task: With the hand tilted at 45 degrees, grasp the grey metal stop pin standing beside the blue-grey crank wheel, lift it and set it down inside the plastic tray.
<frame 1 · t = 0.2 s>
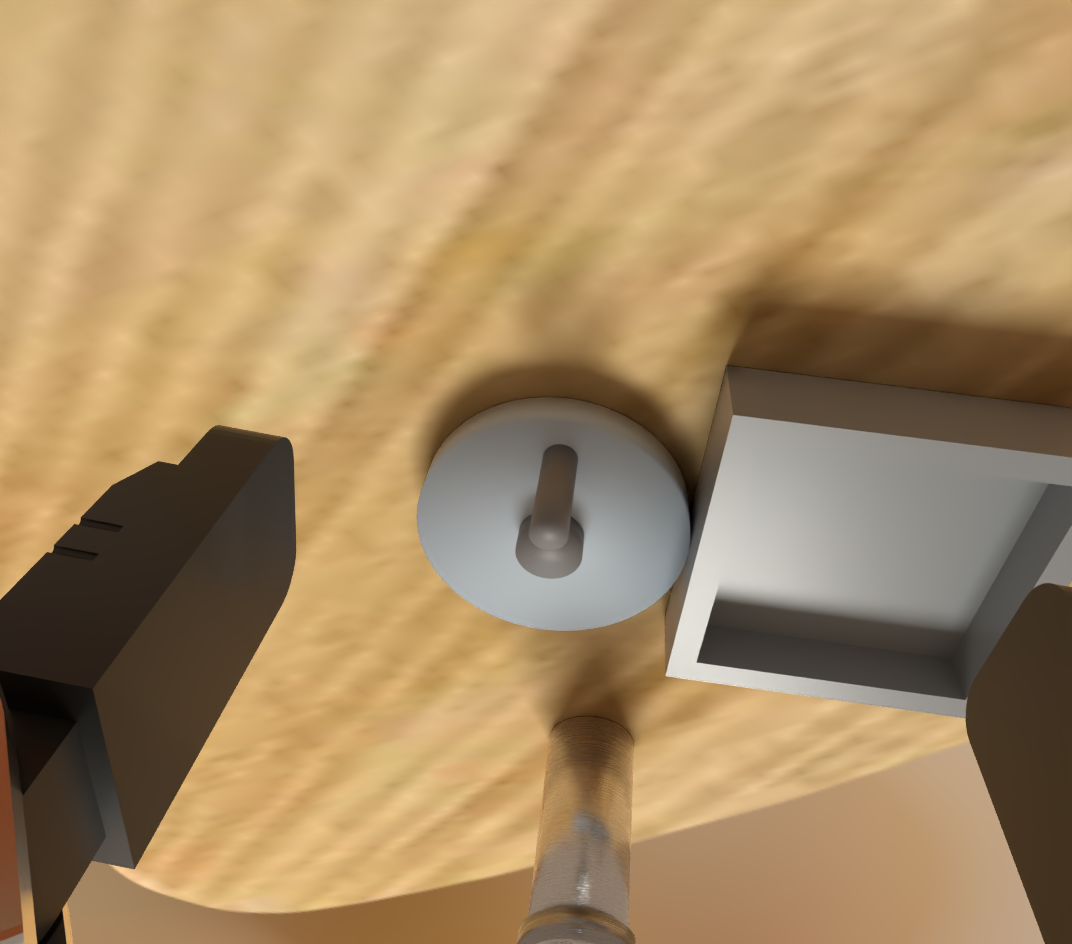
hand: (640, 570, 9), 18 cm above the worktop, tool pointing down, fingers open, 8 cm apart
stop pin: (591, 742, 40), on the worktop
tray: (855, 528, 31), on the worktop
crank wheel: (555, 509, 32), on the worktop
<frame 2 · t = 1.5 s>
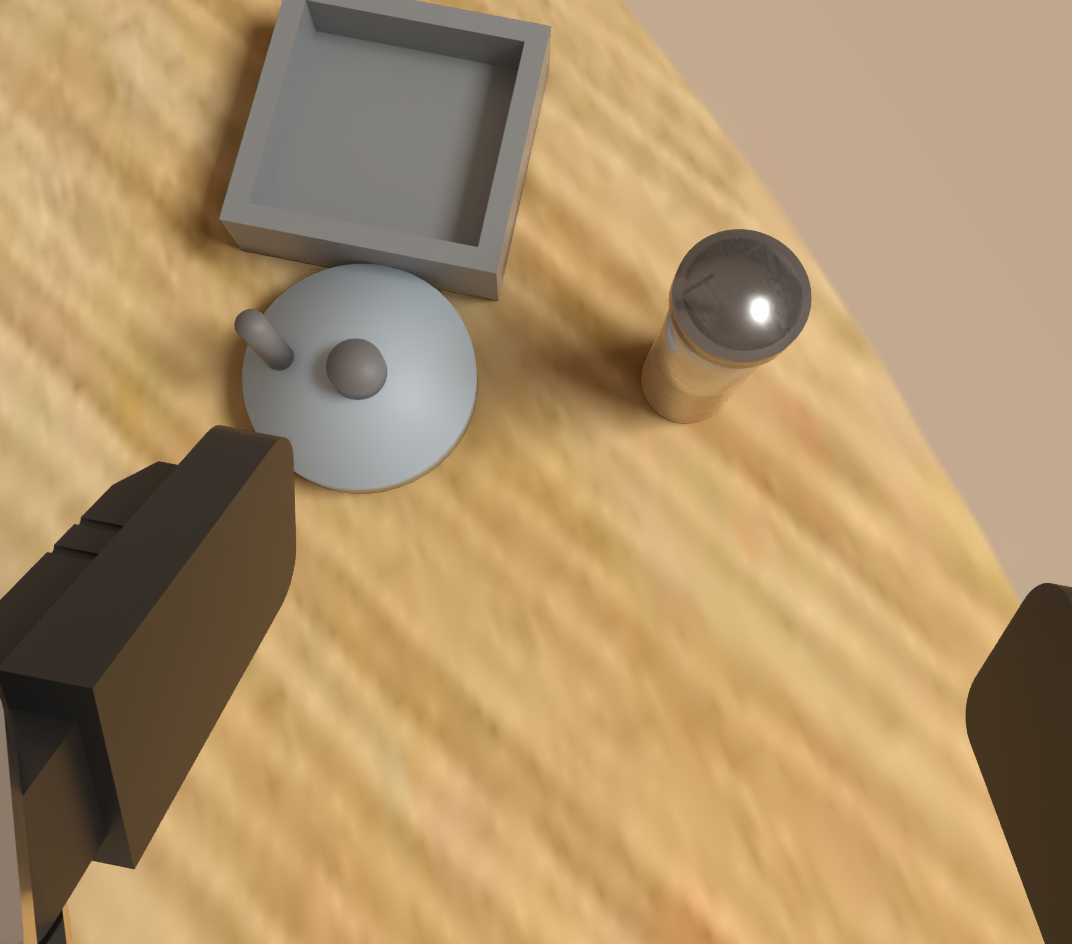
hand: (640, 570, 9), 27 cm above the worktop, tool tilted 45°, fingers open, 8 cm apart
stop pin: (685, 380, 38), on the worktop
tray: (399, 157, 40), on the worktop
crank wheel: (365, 382, 38), on the worktop
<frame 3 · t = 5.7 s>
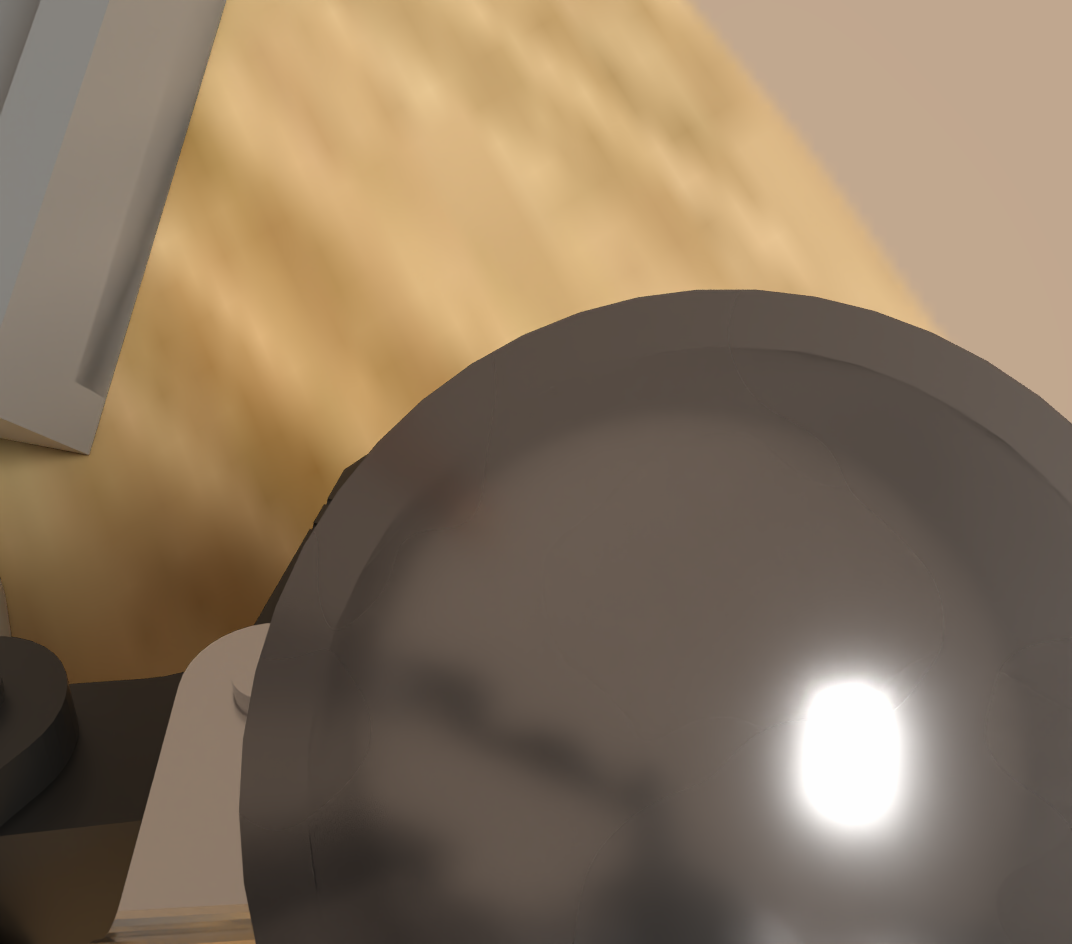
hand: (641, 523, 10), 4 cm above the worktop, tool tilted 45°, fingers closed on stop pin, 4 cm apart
stop pin: (590, 675, 14), on the worktop, touching gripper
when the fingers open (6 cm above the worktop, at t = 11.2 s): stop pin drops 1 cm, resting on tray.
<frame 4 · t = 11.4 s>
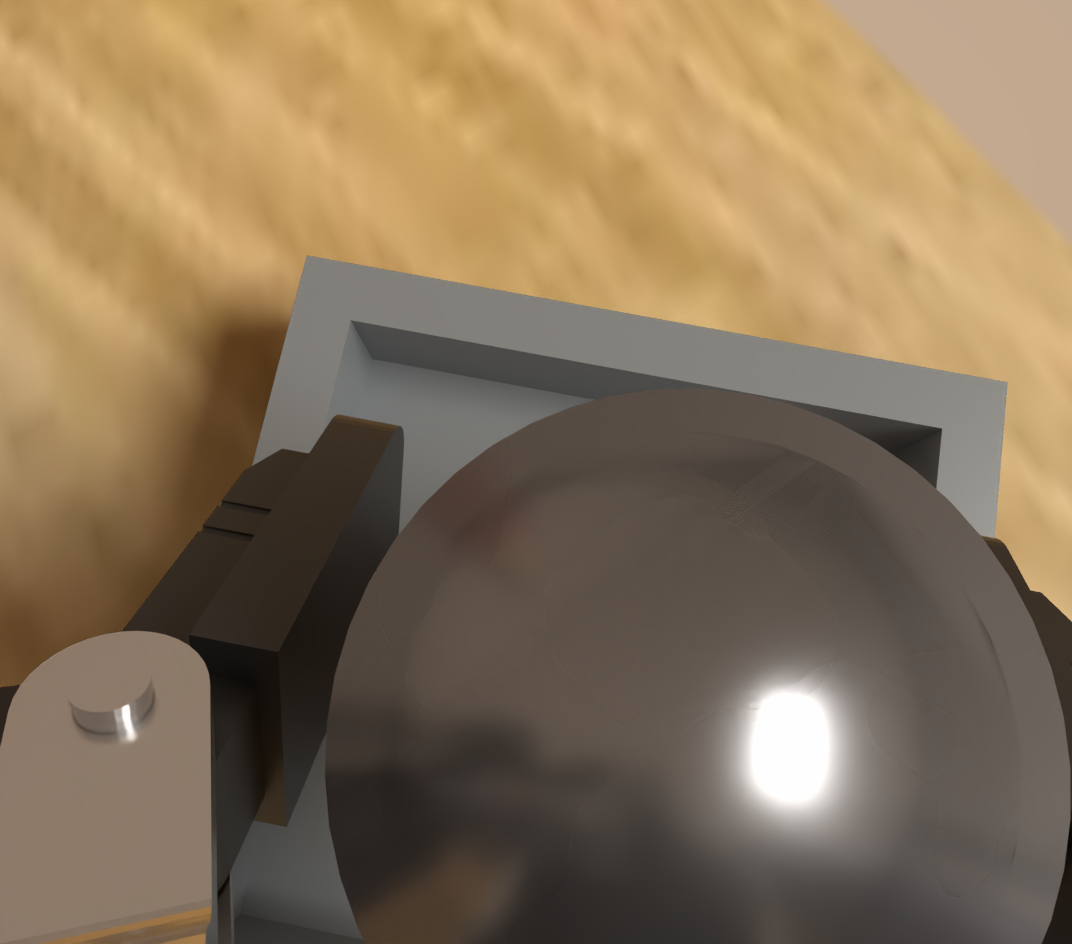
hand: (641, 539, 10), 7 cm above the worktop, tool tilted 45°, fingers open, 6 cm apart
stop pin: (588, 678, 15), point 1 cm above the worktop, touching tray
tray: (580, 669, 16), on the worktop
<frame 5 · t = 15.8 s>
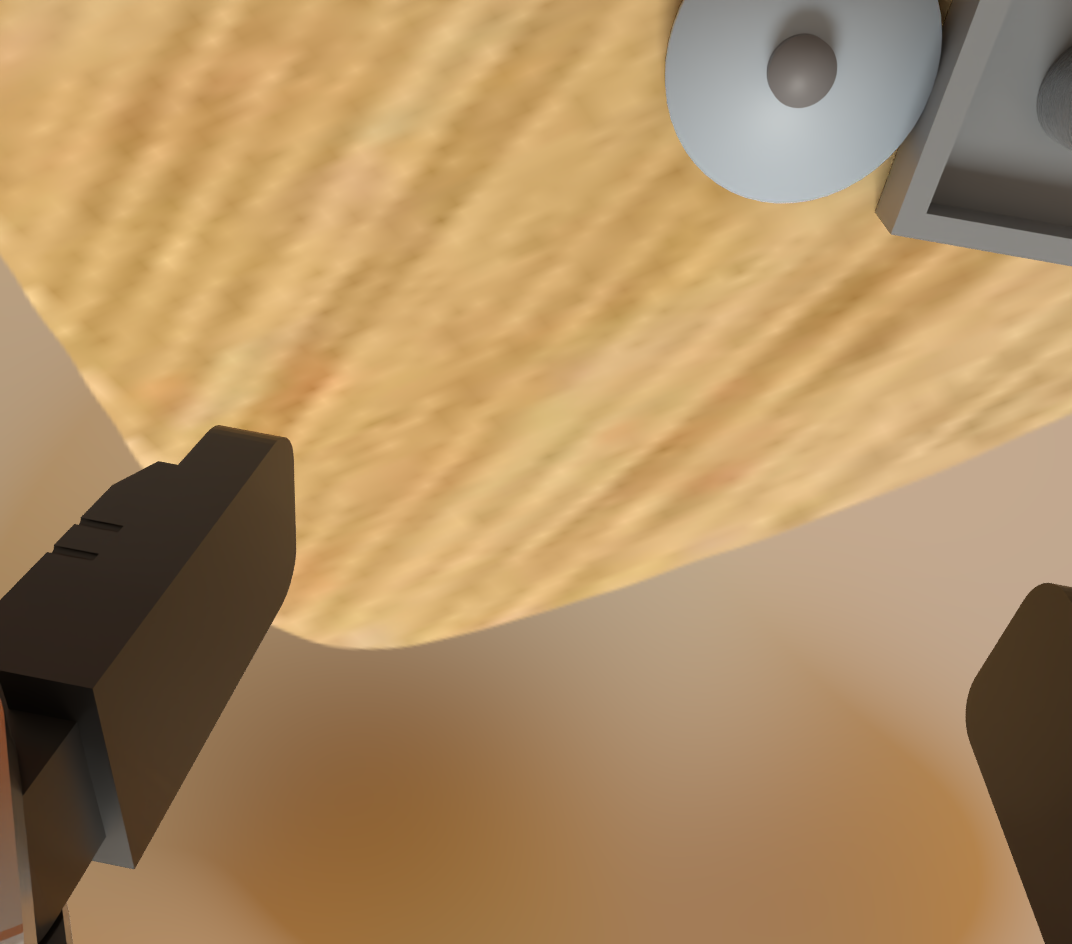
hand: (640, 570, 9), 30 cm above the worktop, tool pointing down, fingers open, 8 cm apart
crank wheel: (794, 63, 33), on the worktop
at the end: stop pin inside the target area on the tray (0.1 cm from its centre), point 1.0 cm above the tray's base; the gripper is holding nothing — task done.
